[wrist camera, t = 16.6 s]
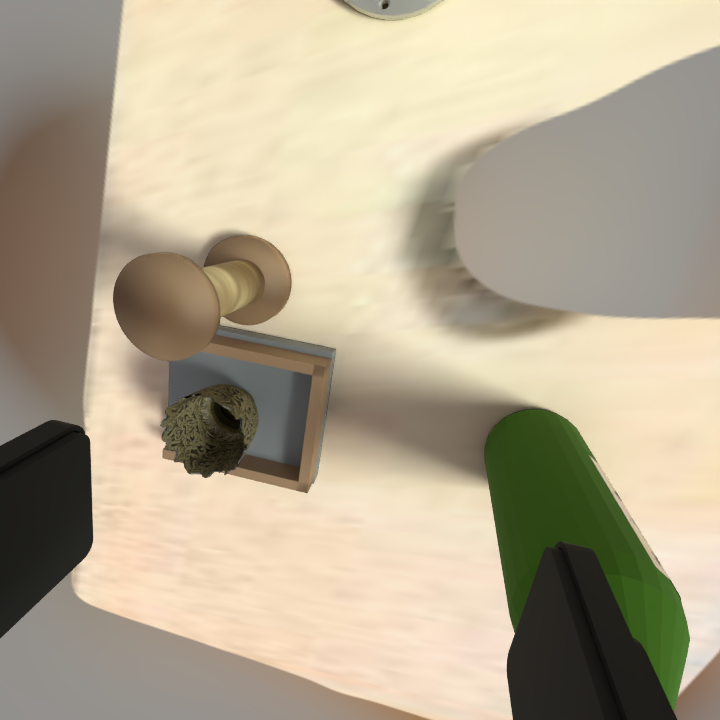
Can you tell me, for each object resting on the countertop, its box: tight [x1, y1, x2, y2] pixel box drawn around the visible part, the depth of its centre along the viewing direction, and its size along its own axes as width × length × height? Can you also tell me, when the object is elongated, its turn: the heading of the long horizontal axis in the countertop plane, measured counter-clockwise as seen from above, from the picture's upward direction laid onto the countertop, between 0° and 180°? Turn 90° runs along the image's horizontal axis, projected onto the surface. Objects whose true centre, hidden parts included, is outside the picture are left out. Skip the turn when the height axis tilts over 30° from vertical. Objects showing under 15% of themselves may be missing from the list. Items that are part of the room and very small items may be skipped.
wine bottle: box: [485, 409, 690, 711], centre depth 29 cm, size 9×9×32 cm
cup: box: [160, 384, 259, 478], centre depth 43 cm, size 8×7×8 cm
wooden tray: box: [163, 325, 336, 493], centre depth 46 cm, size 14×16×4 cm
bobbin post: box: [113, 236, 291, 361], centre depth 37 cm, size 8×8×14 cm
